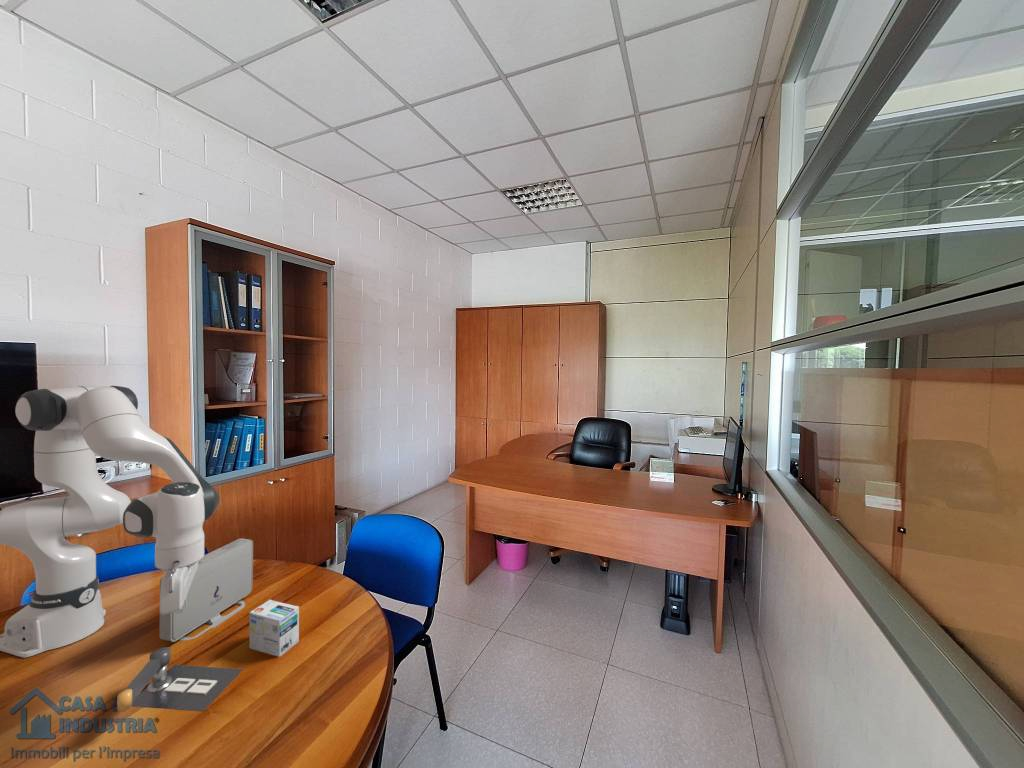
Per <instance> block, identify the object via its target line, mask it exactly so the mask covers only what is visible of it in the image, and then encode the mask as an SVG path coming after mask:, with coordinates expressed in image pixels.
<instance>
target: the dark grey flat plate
mask: <svg viewBox="0 0 1024 768" xmlns="http://www.w3.org/2000/svg"><path fill="white" fill-rule="evenodd" d="M243 670H244V668H230V667H229V668H228V667H217V666H216V667H215V666H201V665H184V664H174V665H173V666H171V667H170V668H169V669H167V676H170V677H172V682H171V683H170V684H172V683H173V682H174V681H175V680H176V679H177V678H187V679H195V681H194V682H193V683H192V684H191V685H190V686H189V687H188V688H187V689H186V690H184V691H183V692H182V693H179V692H165V691H164V690H165V689H166V688H167V687H168V686H169V685H170V684H169V685H168V686H167V687H165V688H163V689H161V690H159V691H156V692H149V691H147V687H145V688H144V689H143V690H142V691H141V692H140V693H139V695H138V696H137V697H136V698H135V700H134V701H133V702H132V706H131V707H137V708H149V709H150V708H152V709H165V710H178V711H179V710H180V711H181V710H182V711H191V712H192V711H194V712H204V711H206V709H208V707H209V706H210V705H211V704H212V703H213V702H214V701H215V700H216V699H217V698H218V697H219V696H220V694H222V693H223V691H224V690H225V689H227V687H228V686H229V685H230V684H231V683H232V682H233V681H234V680H235V679H236V678H237V677H238V676H239V675H240V674H241V672H242V671H243ZM200 679H201V680H216V681H217V683H216V684H215V685H214V686H213V687H212V688H211V689H210V690H209V691H208V692H207V693H206V694H194V693H187V691H188V690H189V689H190V688H191V687H192V686H193V685H194V684H195V683H196V682H198V681H199V680H200Z"/></svg>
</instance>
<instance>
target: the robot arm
mask: <svg viewBox="0 0 1024 768" xmlns="http://www.w3.org/2000/svg"><path fill="white" fill-rule="evenodd" d="M138 406H139V401H138V398H137V395H136V393H135V392H134V391H133V390H132V389H131V388H129V387H125V386H119V385H110V386H106V385H79V386H71V387H70V386H69V387H68V386H67V387H60V388H59V387H57V388H51V389H47V388H41V389H40V388H38V389H33V390H29V391H26V392H24V393H23V394H21V396H19V397H18V399H17V401H16V404H15V408H14V409H15V412H14V413H15V416H16V418H17V421H18V423H19V424H20V425H21V426H22V427H24V428H25V429H27V430H30V431H35V435H34V443H33V459H34V460H33V463H34V464H33V465H34V469H33V471H34V477H35V479H36V480H37V482H39V483H41V484H43V485H45V486H48V487H52V488H58V489H60V490H61V489H62V490H64V491H65V492H67V493H68V496H60V497H59V496H58V497H51V498H46V499H45V498H44V499H35V500H28V501H26V502H21V503H17V504H13V505H9V506H5V507H4V508H2V509H1V510H0V544H1V545H5V546H8V547H11V548H14V549H16V550H18V551H19V552H21V553H22V554H24V555H25V556H26V557H27V558H28V559H29V560H30V562H31V563H32V566H33V570H34V576H35V589H34V590H32V591H29V592H27V593H26V595H27V596H26V598H30V597H31V599H30V602H29V604H27V605H26V606H25V607H23V608H22V609H20V610H18V611H17V612H16V613H15V614H13V615H11V616H10V617H9V618H8V619H7V620H6V621H5V625H4V629H3V630H4V632H3V633H2V634H0V651H1V652H4V653H7V654H11V655H14V656H16V657H19V658H22V659H23V658H29V657H32V656H36V655H38V654H41V653H43V652H47V651H51V650H54V649H58V648H62V647H64V646H68V645H70V644H74V643H75V642H78V641H80V640H82V639H85V638H86V637H89V636H90V635H92V634H94V633H95V632H97V631H98V630H100V628H102V626H103V625H104V624H105V622H106V621H105V618H104V617H105V616H106V613H107V611H106V609H105V608H103V603H102V602H103V601H102V596H101V591H100V589H99V583H100V580H99V576H98V575H97V553H96V551H95V549H94V548H92V547H89V546H88V545H84V544H78V543H73V542H71V541H68V540H67V539H66V537H70V536H78V535H82V534H83V535H84V534H88V533H89V534H90V533H95V532H100V531H103V530H107V529H111V528H113V527H117V526H119V525H122V526H123V529H124V531H125V532H126V533H128V534H129V535H131V536H134V537H137V538H141V539H142V538H145V539H146V538H150V537H153V538H155V539H156V541H155V545H154V566H155V568H157V569H159V570H162V572H163V575H164V574H165V575H164V577H163V579H162V583H161V591H160V590H159V614H160V613H161V614H162V615H163V614H169V613H173V612H174V614H179V613H183V612H184V609H185V606H186V598H187V594H188V591H189V589H190V586H191V583H192V581H193V578H194V576H195V573H196V571H197V567H198V562H199V560H200V559H202V558H203V556H204V555H205V532H204V529H203V525H204V523H205V521H208V520H209V519H210V518H211V517H212V516H213V515H214V513H215V512H216V510H217V508H218V507H219V503H220V495H219V492H218V490H217V489H216V488H215V487H214V486H213V485H211V483H209V482H208V481H207V480H206V479H205V478H203V476H202V475H201V474H200V473H199V471H198V470H197V469H196V468H195V467H194V465H192V463H191V462H190V460H189V459H188V458H187V457H186V455H185V454H184V453H183V452H182V450H181V449H180V448H179V447H178V446H177V445H176V444H175V443H174V442H173V440H172V439H170V438H169V437H166V436H164V435H162V434H159V433H158V432H156V431H155V430H153V429H152V428H151V427H150V426H148V425H147V423H146V422H145V421H144V419H143V417H142V416H141V414H140V412H139V411H138V408H139V407H138ZM96 456H98V457H100V458H103V459H106V460H110V461H115V462H133V463H142V464H147V465H152V466H155V467H158V468H160V469H161V470H162V471H163V472H164V473H165V475H166V476H167V477H168V478H169V479H170V481H171V482H172V483H168V484H165V485H164V486H162V487H160V488H159V489H158V491H156V492H153V493H151V494H146V495H144V496H140V497H137V498H134V499H133V500H131V499H130V497H129V496H128V495H127V494H125V493H124V492H122V491H119V490H117V489H114V488H113V487H112V486H110V485H108V484H107V483H106V482H105V481H104V480H103V479H102V477H101V475H100V473H99V471H98V467H97V459H96V458H97V457H96Z"/></svg>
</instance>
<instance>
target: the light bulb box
mask: <svg viewBox="0 0 1024 768" xmlns="http://www.w3.org/2000/svg"><path fill="white" fill-rule="evenodd" d="M299 618H300V605H294V604H289V603H285V602H280V601H277V600H272V599H268V600H267V601H265V602H264V603H262V604H261V605H259V606H257V607H255V608H254V609H253V610H251V611H250V612H249V649H250V650H254V651H256V652H257V651H258V652H261V653H263V654H264V653H265V654H267V655H271V656H275V657H276V658H280V657H282V656H283V655H284V654H286V653H287V652H288V651H290V650H291V649H292V648H293V647H294V646H295V645H297V644H298V643H299V642H300V619H299Z"/></svg>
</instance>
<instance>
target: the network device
mask: <svg viewBox="0 0 1024 768" xmlns="http://www.w3.org/2000/svg"><path fill="white" fill-rule="evenodd" d="M253 574H254V540H252V539H247V538H243V537H242V538H237V539H236V540H234V541H231V542H229V543H228V544H225V545H223V546H222V547H219V548H217V549H215V550H213V551H211V552H209V553H206V554H204V556H203V558H202V559H200V560H199V562H198V567H197V571H196V573H195V576H194V578H193V581H192V583H191V586H190V589H189V591H188V594H187V598H186V606H185V609H184V612H183V613H179V614H174V612H173V613H169V614H163V615H162V614H161V613H160V612H159V638H160V640H164V641H169V642H173V643H175V642H177V641H178V640H179V641H190V640H193V639H196V638H199V636H202V635H203V634H205V633H206V632H207V631H209V630H210V629H215V628H216V627H218V626H219V625H222V623H224V622H225V621H226V620H228V619H230V618H231V617H233V616H234V615H236V614H238V612H240V611H241V610H243V608H245V606H246V603H245V601H243V600H242V599H243V598H245V597H247V596H248V595H250V593H251V592H252V590H253V583H254V582H253V580H254V579H253V578H254V577H253V576H254V575H253ZM164 575H165V573H163V575H162V576H161V578H160V579H159V592H160V591H161V583H162V579H163V577H164ZM232 605H238V607H237V608H235V609H234V610H232V611H231V612H229V613H228V614H226V615H221V614H220V613H221V612H223V611H225V610H226V609H228V608H229V607H231V606H232ZM203 624H208V625H210V626H208V627H207V628H205V629H204V630H202V631H201V632H198V634H196V635H195V636H191V637H189V636H188V637H187V636H186V635H187V634H189V633H191V632H192V631H195V629H197V628H199V627H200V626H202V625H203Z"/></svg>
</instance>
